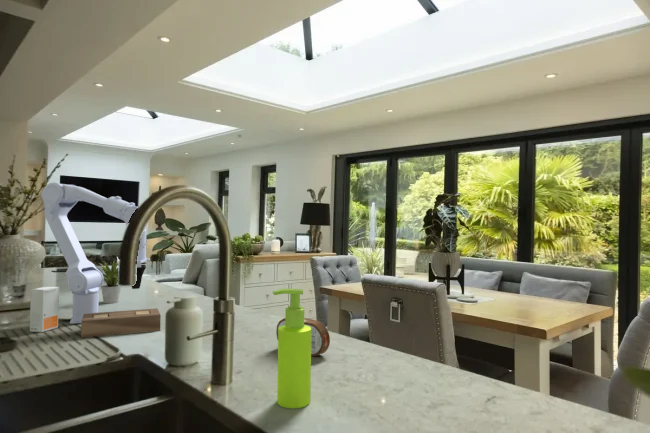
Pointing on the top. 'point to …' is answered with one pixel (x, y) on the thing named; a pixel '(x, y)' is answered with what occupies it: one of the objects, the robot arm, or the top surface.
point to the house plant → (110, 284)
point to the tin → (314, 336)
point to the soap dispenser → (294, 355)
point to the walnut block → (120, 323)
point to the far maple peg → (142, 312)
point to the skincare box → (44, 309)
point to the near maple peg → (100, 316)
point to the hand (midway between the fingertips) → (135, 288)
